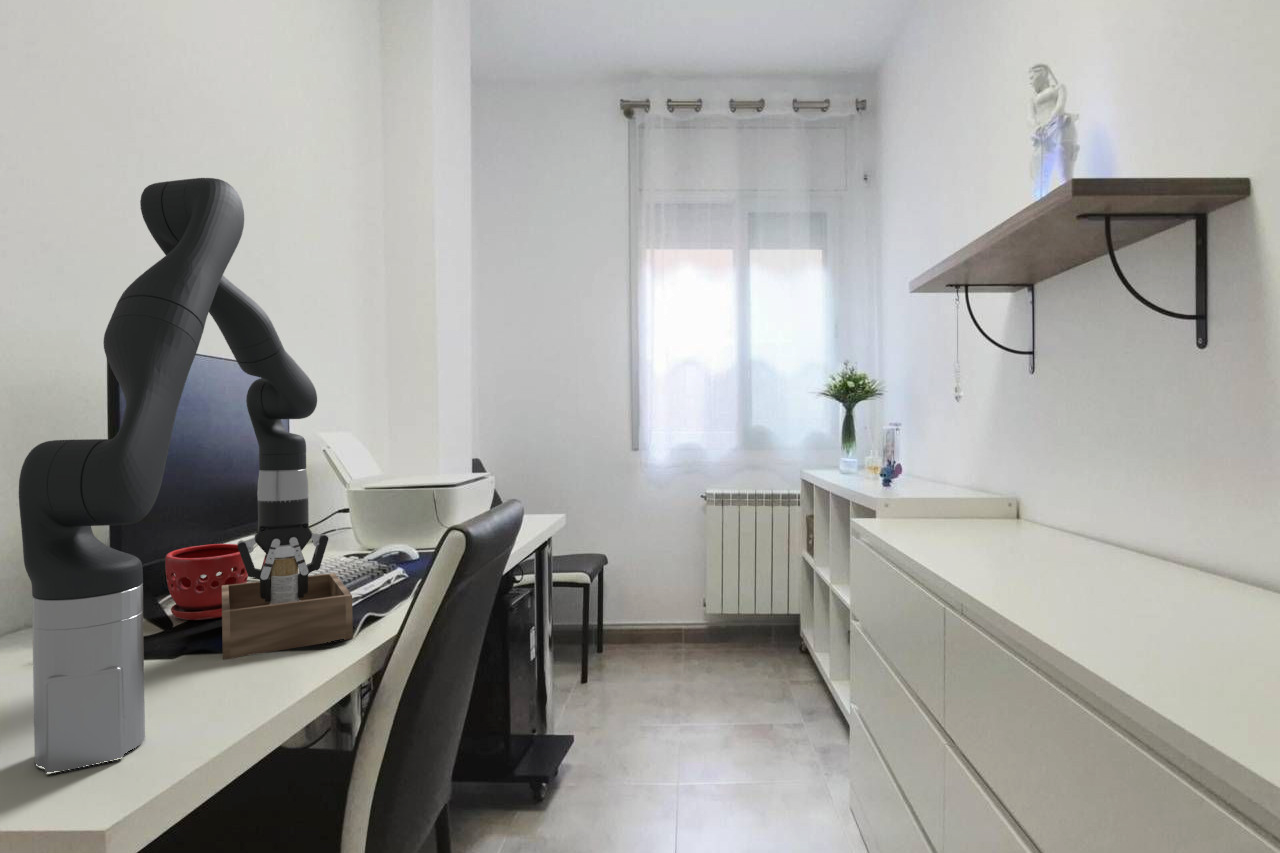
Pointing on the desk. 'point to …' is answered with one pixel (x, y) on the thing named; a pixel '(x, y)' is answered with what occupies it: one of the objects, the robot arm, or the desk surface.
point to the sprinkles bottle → (284, 576)
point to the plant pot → (202, 579)
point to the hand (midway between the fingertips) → (284, 598)
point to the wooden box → (284, 617)
